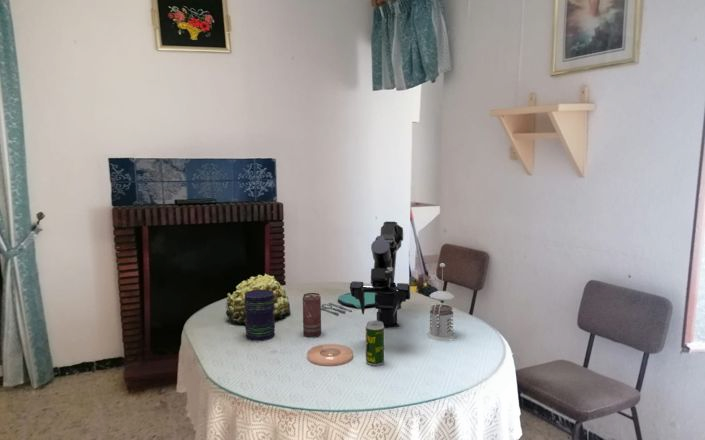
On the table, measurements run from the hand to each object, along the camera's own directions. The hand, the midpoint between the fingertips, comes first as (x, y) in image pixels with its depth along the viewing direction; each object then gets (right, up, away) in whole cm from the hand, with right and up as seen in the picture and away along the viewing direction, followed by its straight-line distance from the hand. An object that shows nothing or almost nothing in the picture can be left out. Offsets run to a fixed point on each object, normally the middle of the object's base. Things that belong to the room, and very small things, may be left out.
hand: (377, 314), depth 151 cm
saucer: (-14, -13, 0) cm, 19 cm away
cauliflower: (-44, -8, +39) cm, 59 cm away
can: (-21, -11, +19) cm, 30 cm away
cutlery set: (-8, -6, +53) cm, 54 cm away
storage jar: (-39, -11, +18) cm, 44 cm away
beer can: (-1, -13, -5) cm, 14 cm away
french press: (+22, -11, +16) cm, 29 cm away
